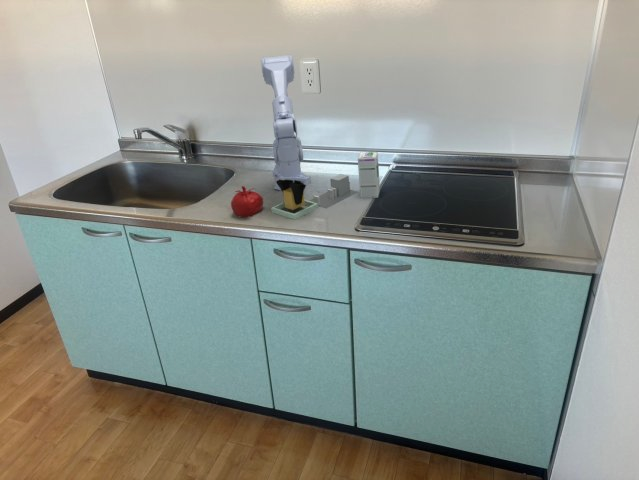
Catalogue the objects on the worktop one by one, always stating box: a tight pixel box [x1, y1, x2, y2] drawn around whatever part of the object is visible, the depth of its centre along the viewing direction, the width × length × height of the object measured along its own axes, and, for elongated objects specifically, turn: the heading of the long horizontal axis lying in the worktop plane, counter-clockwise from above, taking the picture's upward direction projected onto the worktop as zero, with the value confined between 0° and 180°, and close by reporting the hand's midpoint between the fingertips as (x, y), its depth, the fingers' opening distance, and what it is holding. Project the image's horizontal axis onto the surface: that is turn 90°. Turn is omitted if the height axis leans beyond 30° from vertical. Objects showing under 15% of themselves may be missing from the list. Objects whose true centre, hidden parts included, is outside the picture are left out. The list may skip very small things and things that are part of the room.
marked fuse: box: [282, 188, 306, 211], centre depth 149 cm, size 4×5×6 cm
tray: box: [271, 199, 319, 220], centre depth 151 cm, size 10×10×3 cm
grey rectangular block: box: [329, 173, 351, 197], centre depth 159 cm, size 4×5×6 cm
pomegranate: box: [230, 185, 264, 218], centre depth 153 cm, size 10×10×9 cm
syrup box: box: [357, 151, 381, 199], centre depth 154 cm, size 6×6×14 cm
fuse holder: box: [309, 181, 359, 209], centre depth 157 cm, size 9×16×4 cm, turn 137°
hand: (294, 202), depth 150 cm, fingers closed on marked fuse, 3 cm apart
